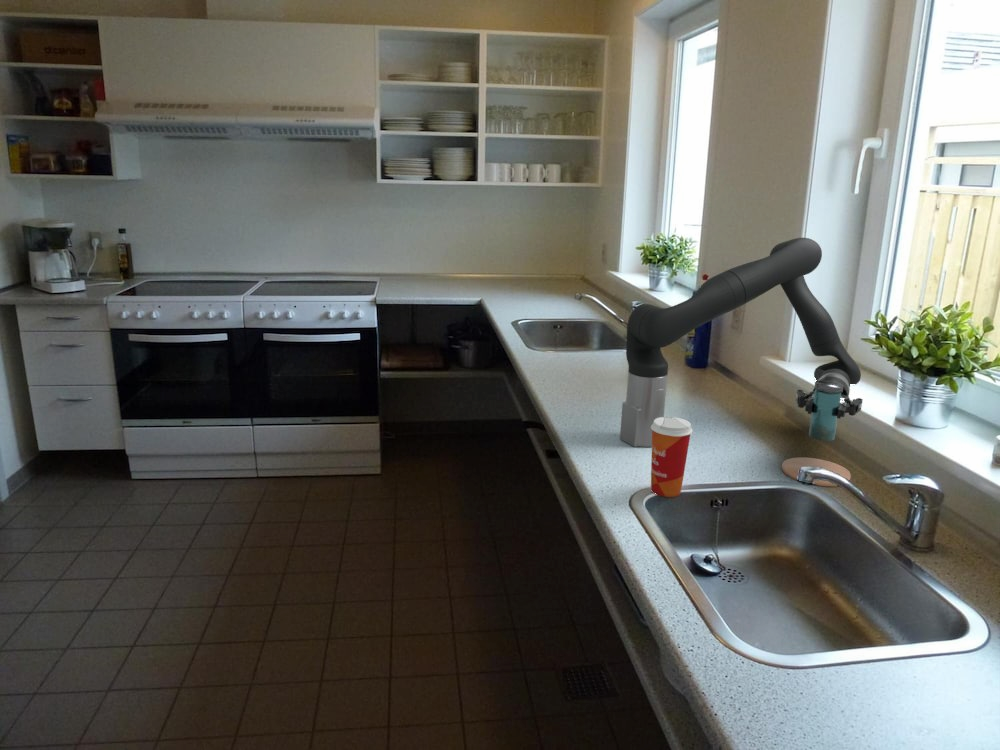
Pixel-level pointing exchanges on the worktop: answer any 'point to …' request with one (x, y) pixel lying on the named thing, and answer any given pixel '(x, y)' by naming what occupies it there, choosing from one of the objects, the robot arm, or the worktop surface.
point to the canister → (825, 410)
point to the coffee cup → (669, 455)
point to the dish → (794, 464)
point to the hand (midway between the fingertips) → (824, 411)
